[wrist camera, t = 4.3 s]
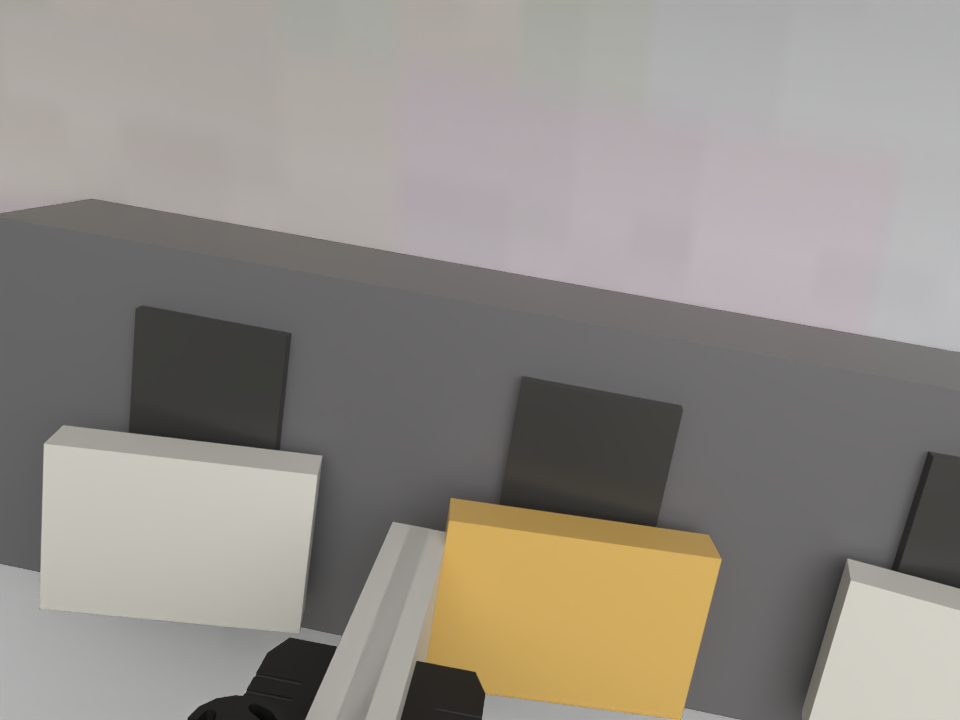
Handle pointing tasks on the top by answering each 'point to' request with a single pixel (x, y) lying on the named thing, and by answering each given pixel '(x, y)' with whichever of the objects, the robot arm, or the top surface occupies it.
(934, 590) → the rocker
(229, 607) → the white box
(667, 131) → the top surface
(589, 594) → the yellow box
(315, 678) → the robot arm
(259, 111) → the top surface
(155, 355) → the power strip
